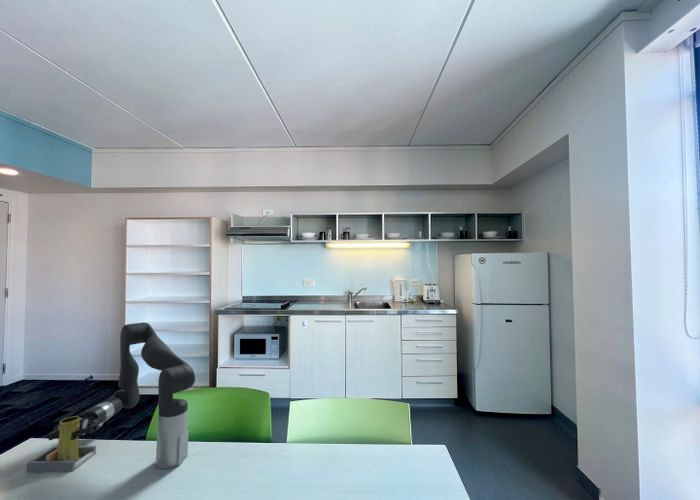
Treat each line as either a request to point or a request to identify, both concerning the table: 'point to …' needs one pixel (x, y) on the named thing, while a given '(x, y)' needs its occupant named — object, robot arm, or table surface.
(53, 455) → the pusher
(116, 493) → the table surface
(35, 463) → the grey tray
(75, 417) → the vase
